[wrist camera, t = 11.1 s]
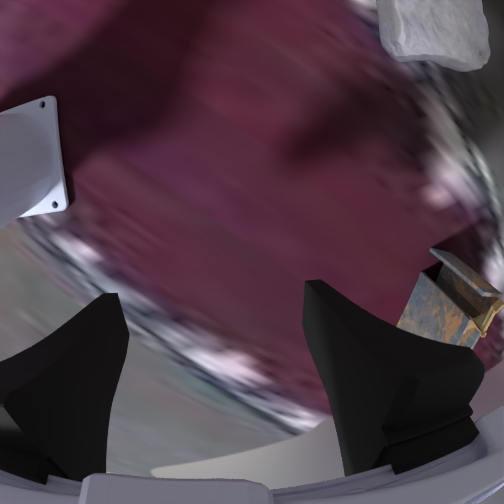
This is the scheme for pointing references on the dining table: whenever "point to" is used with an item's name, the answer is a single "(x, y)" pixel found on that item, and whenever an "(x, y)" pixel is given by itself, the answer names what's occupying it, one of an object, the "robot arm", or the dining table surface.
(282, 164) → the dining table surface
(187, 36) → the dining table surface
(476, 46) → the stone block
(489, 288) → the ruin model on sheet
